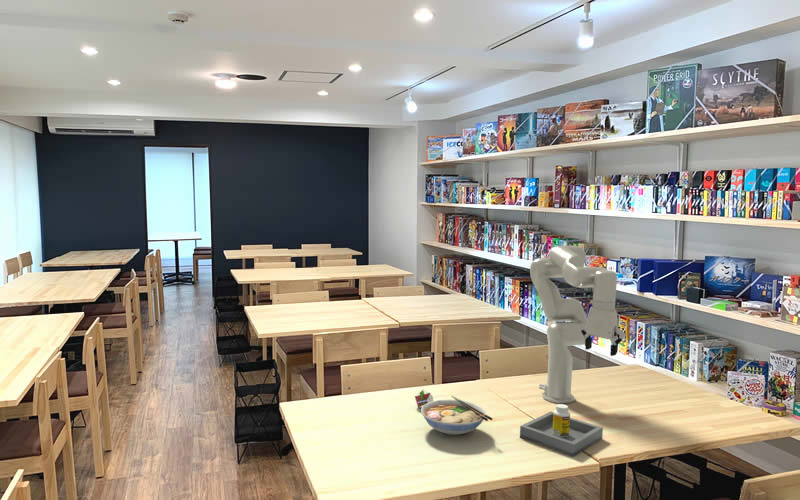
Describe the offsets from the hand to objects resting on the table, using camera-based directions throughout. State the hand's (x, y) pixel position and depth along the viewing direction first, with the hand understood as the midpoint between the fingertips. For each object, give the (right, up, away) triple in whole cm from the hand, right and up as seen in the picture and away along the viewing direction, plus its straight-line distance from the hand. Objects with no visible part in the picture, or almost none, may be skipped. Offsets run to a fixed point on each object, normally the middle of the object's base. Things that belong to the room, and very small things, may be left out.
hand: (600, 351), depth 209 cm
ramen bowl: (-54, -27, -5) cm, 60 cm away
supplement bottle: (-17, -27, -9) cm, 33 cm away
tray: (-17, -28, -9) cm, 34 cm away
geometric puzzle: (-63, -25, +16) cm, 69 cm away
